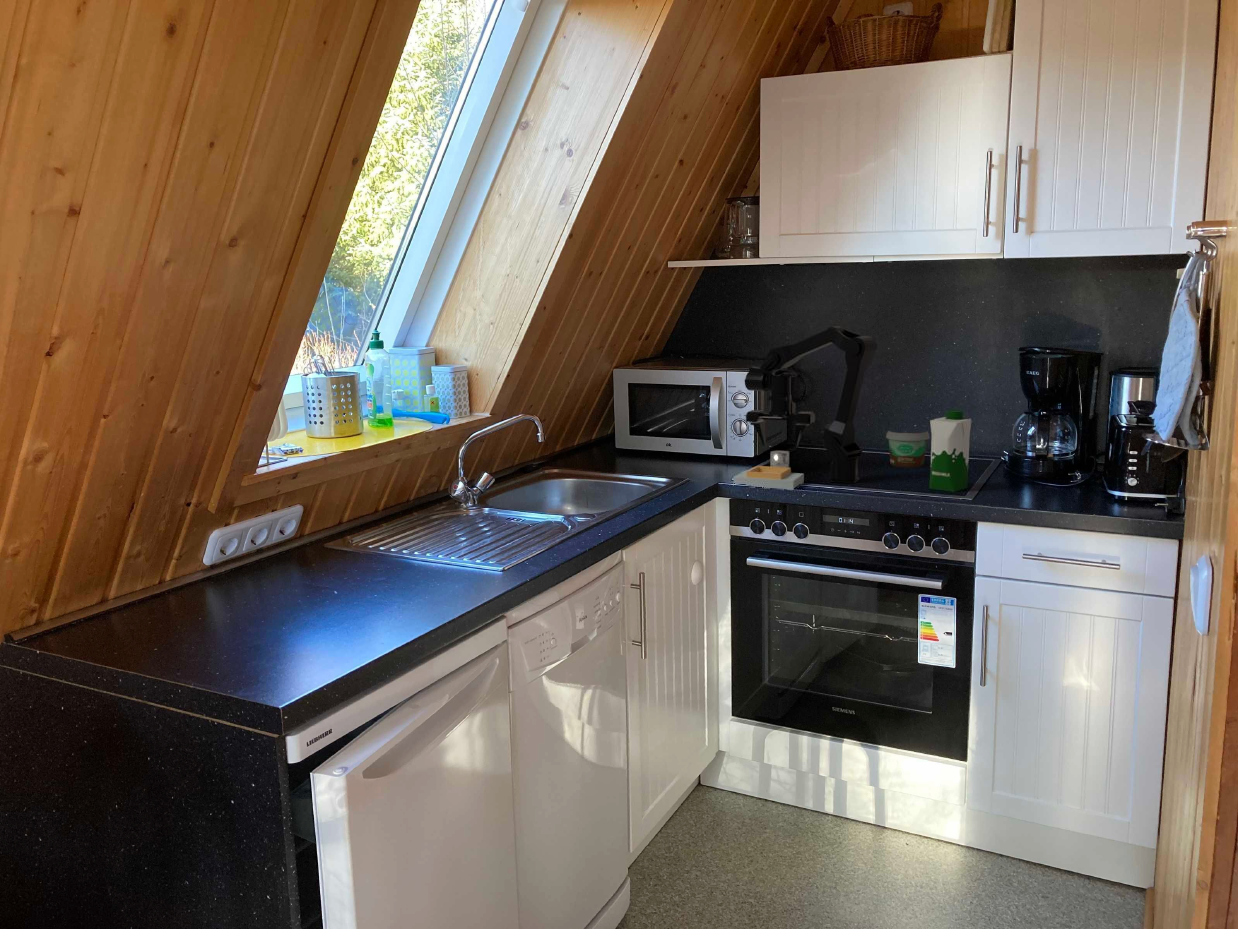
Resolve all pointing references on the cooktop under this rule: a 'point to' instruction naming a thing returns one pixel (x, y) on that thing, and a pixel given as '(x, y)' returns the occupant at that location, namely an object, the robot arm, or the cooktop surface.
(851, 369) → the robot arm
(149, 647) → the cooktop surface
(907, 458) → the food container
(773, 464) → the steel can
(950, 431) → the milk carton
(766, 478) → the grey slab with frame
